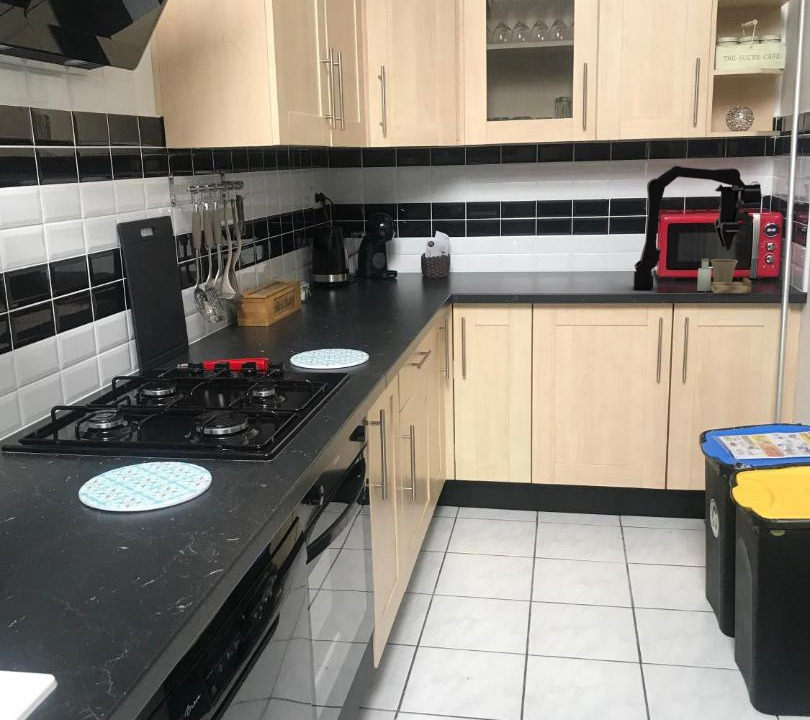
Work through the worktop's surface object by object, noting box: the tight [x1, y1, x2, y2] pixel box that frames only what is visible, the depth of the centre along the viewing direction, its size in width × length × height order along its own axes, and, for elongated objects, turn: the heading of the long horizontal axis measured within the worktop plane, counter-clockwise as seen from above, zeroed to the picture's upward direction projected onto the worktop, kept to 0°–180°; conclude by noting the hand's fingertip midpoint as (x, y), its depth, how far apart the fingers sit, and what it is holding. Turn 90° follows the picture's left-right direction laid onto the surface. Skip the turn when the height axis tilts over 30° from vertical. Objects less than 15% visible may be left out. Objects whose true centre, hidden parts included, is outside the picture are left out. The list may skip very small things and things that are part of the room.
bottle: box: [696, 258, 712, 293], centre depth 299 cm, size 4×4×12 cm
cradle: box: [710, 277, 752, 294], centre depth 298 cm, size 12×9×4 cm
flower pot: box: [710, 258, 738, 282], centre depth 313 cm, size 9×9×9 cm
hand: (725, 248), depth 299 cm, fingers open, 9 cm apart
